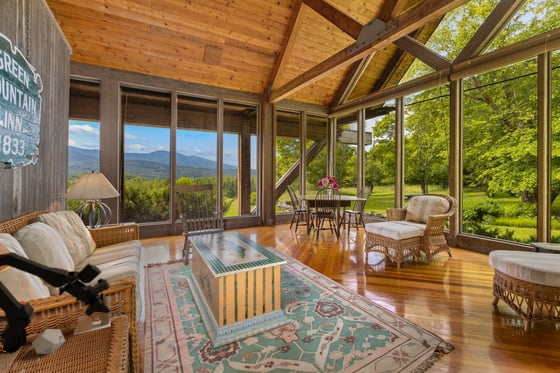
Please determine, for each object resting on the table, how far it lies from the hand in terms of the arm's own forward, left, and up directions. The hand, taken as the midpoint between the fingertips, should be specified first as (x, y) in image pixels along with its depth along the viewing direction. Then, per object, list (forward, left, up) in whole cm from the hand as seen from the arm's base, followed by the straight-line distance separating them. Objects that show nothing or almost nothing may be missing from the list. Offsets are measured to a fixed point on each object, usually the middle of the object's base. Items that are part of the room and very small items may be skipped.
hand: (109, 310), depth 114 cm
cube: (-7, -5, -6) cm, 11 cm away
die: (-10, -19, -7) cm, 23 cm away
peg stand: (-5, -3, -7) cm, 9 cm away
